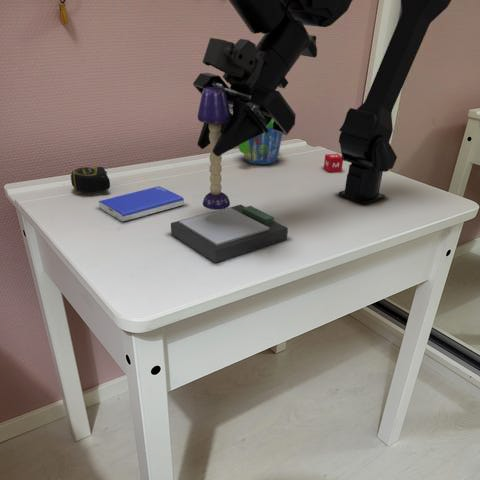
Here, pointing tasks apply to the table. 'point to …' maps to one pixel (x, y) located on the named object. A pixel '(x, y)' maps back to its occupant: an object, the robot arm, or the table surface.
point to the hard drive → (141, 203)
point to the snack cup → (262, 147)
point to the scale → (229, 232)
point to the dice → (333, 163)
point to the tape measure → (90, 179)
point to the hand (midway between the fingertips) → (207, 150)
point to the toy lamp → (214, 141)
